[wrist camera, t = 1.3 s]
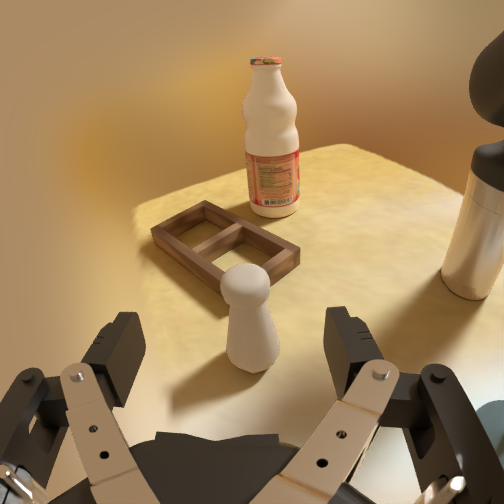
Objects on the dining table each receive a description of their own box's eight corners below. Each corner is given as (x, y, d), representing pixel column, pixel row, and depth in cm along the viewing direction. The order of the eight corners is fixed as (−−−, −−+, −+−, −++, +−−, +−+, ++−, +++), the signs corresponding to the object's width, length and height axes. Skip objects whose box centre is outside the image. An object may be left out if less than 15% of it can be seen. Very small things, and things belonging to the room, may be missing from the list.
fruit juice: (240, 206, 61) (224, 60, 44) (276, 190, 66) (268, 55, 48) (273, 225, 55) (262, 60, 38) (309, 206, 60) (307, 56, 42)
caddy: (207, 213, 60) (204, 200, 59) (300, 263, 47) (300, 247, 45) (154, 242, 54) (150, 228, 52) (240, 309, 41) (237, 293, 39)
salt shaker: (231, 383, 32) (209, 304, 24) (227, 342, 37) (208, 258, 29) (284, 375, 33) (284, 293, 25) (275, 335, 37) (271, 249, 29)
